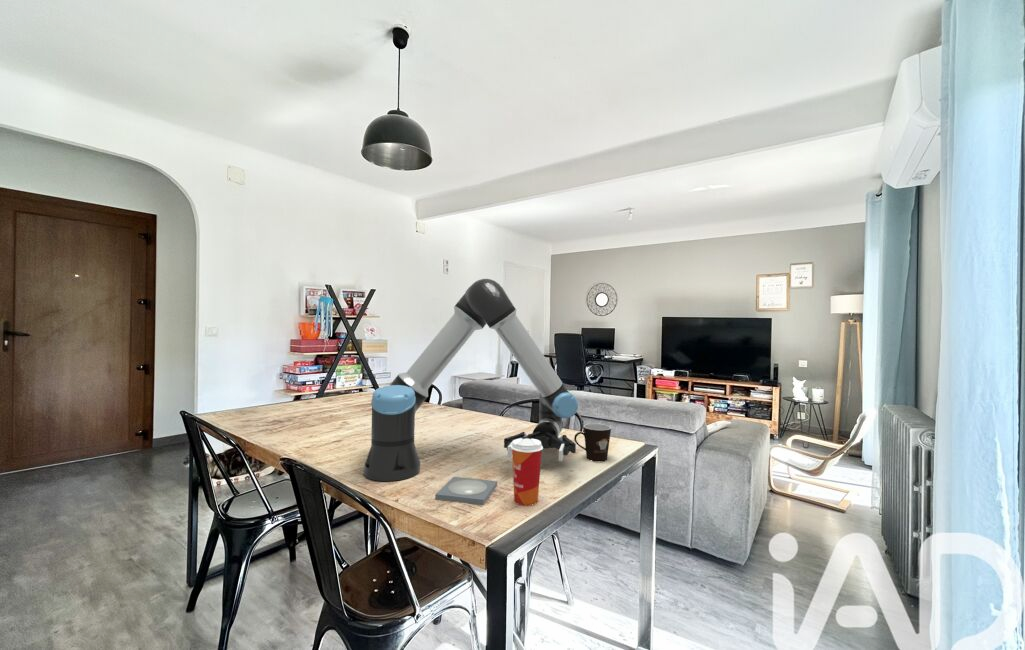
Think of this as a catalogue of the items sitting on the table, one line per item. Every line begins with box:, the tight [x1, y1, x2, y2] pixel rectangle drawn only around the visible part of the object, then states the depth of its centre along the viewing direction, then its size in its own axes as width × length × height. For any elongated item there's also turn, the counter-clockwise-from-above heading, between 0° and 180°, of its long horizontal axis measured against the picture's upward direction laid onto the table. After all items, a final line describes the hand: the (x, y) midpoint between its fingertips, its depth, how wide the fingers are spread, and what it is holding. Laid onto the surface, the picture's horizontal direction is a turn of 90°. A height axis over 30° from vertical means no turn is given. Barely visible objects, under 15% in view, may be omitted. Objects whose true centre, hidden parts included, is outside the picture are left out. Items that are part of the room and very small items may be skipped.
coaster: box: [434, 476, 498, 506], centre depth 103 cm, size 12×12×1 cm
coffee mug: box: [573, 423, 612, 462], centre depth 132 cm, size 12×9×10 cm
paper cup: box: [511, 438, 543, 506], centre depth 99 cm, size 8×8×14 cm
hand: (534, 454), depth 108 cm, fingers open, 13 cm apart
